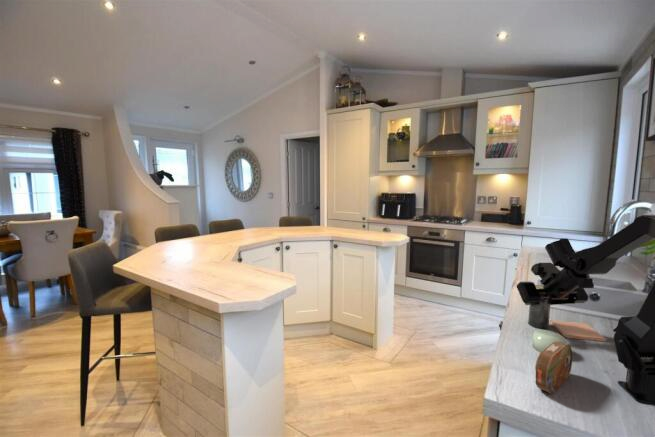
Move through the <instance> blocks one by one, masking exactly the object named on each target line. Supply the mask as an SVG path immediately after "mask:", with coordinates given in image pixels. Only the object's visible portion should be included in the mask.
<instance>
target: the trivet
mask: <svg viewBox="0 0 655 437" xmlns="http://www.w3.org/2000/svg"><path fill="white" fill-rule="evenodd" d="M549 324H551V325H552V326H553V327H554V328H555V329H556V331H558V332H559V334H560V335H561V336H563V337H564V338H570V339H579V340H588V341H589V340H590V341H597V342H599V341H600V342H606V339H607V338H606V337H604V336H603V335H601V334H600V333H599V332H597V331H596V330H595V329H594V328H592V327H591V326H590V325H589V324H587V323H584V322H583V323H581V322H575V321H574V322H571V321H561V320H550V319H549Z"/></svg>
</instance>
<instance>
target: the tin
mask: <svg viewBox="0 0 655 437" xmlns="http://www.w3.org/2000/svg"><path fill="white" fill-rule="evenodd" d="M572 350H573V349H572V347H571V345H570V344H568V343H565V344H564V343H560V342H554V343H552V344H551V345H550V346H549V347H547V348H546V349H545V350H544V351H542V352H541V353H540V352H539V355H538V356H537V360H536V363H535V368H534V369H535V385H536V387H537V388H538V389H540V390H542V391H545V392H547V393H549V394H552V395H553V394H555V393H556V392H557V391H558V390H559V389H560V388H561V386H562V385H564V383H565V382H567V380H568V378H569V376H570V374H571V370H572V363H573V351H572Z"/></svg>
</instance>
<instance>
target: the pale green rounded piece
mask: <svg viewBox="0 0 655 437" xmlns="http://www.w3.org/2000/svg"><path fill="white" fill-rule="evenodd" d="M532 336H533V337H532V348H533V349H534V350H535V351H537V352H538V353H539V354H540V353H541V352H542V351H544V350H545V349H546V348H547V347H549V346H550V345H551V344H552V343H554V342H560V343H564V344H566V337H564V336H563V335H562V334H560V333H556V332H554V331H551V330H547V329H536V330H534V331H533V335H532Z"/></svg>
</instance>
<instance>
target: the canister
mask: <svg viewBox="0 0 655 437" xmlns="http://www.w3.org/2000/svg"><path fill="white" fill-rule="evenodd" d="M535 286H536V288H537V289H543V286H544V285H542V284H535ZM539 303H540V304H533V305H528V307H529V309H528V320H527V321H528V322H527V323H528V325H529V326H531V328H535V329H538V328H539V329H538V330H547V329H549V326H550V317H551V316H550V314H551V313H550V312H551V305H550V304H551V299H550V297H541V298H540V301H539Z"/></svg>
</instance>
